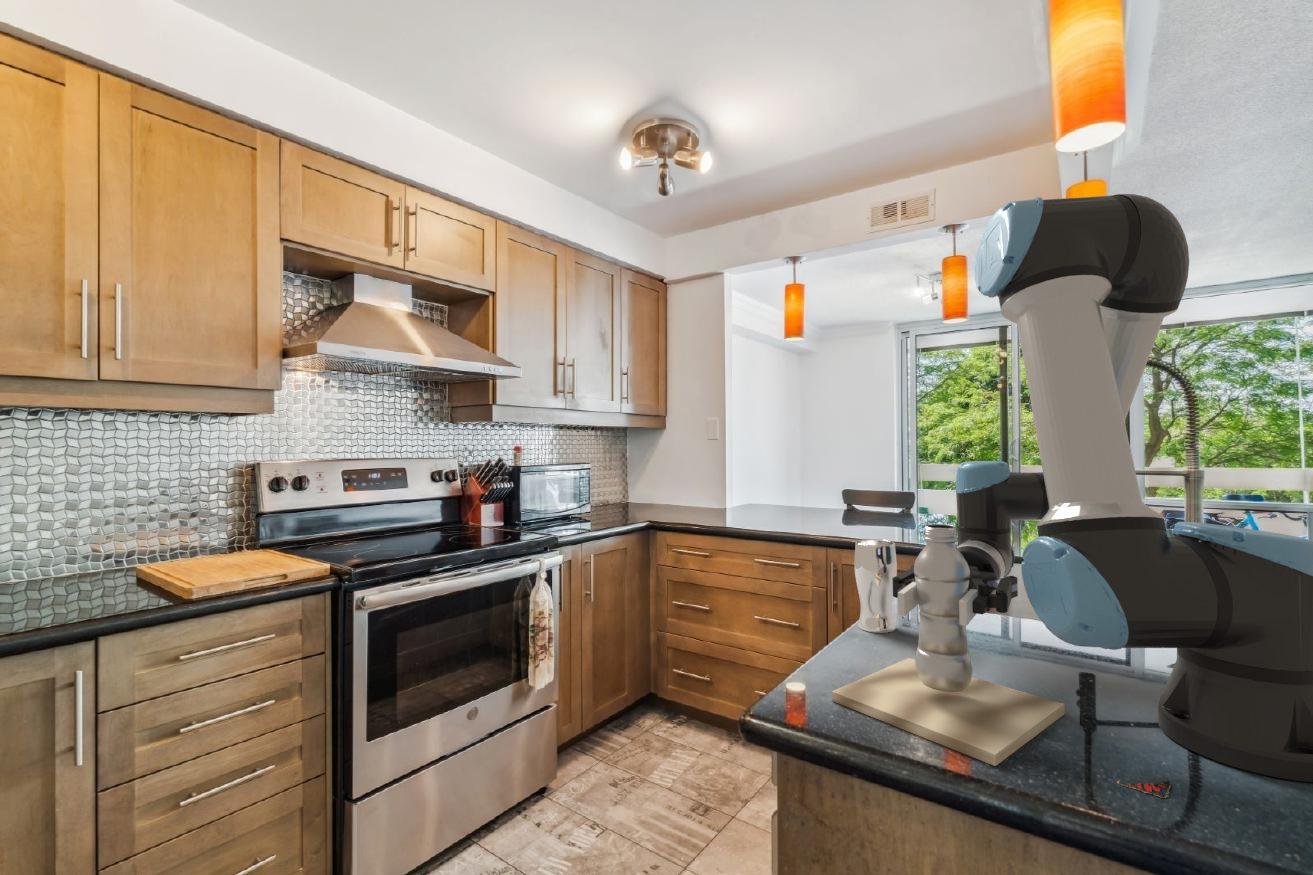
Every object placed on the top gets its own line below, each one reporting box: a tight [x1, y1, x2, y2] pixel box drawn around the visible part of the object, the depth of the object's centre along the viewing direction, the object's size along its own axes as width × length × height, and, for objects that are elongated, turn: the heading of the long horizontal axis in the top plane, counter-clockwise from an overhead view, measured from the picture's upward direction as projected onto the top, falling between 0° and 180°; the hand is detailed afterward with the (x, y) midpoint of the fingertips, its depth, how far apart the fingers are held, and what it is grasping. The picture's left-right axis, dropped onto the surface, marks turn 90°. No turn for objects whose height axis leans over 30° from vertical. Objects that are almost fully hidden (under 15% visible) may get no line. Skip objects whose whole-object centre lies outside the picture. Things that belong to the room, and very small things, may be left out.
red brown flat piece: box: [1116, 769, 1173, 799], centre depth 59 cm, size 5×5×1 cm
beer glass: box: [854, 538, 898, 634], centre depth 106 cm, size 7×7×15 cm
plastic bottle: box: [913, 523, 974, 692], centre depth 75 cm, size 6×7×20 cm
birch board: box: [831, 657, 1065, 767], centre depth 75 cm, size 20×18×1 cm
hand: (931, 608), depth 71 cm, fingers closed on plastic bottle, 6 cm apart
